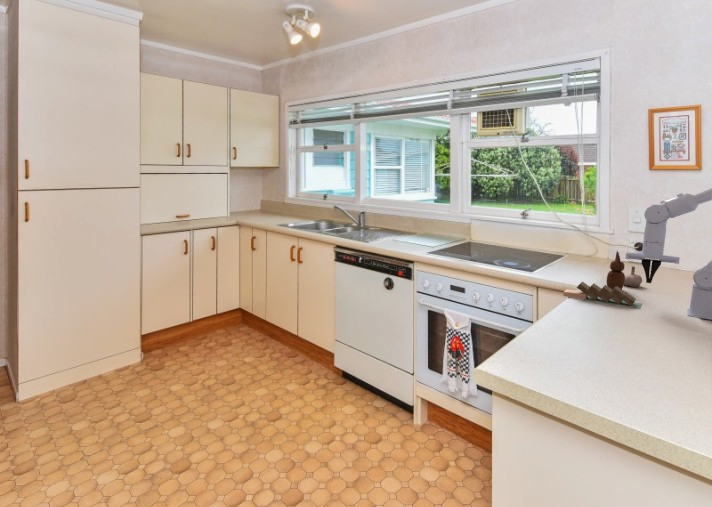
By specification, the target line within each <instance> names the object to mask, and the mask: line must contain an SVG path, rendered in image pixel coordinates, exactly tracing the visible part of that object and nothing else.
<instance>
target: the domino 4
mask: <svg viewBox="0 0 712 507" xmlns="http://www.w3.org/2000/svg"><path fill="white" fill-rule="evenodd" d="M611 293H613V294H614V295H616V296H617V297H618V298H620V299H621V300H623V301H624V302H626V303H627V304H629V305H630V306H631V305H632V304H633V303H634V302H635V303H636V300H637V299H636V297H634V296H633V295H631V294H629V293H628V292H626V291H625V290H624V289H623V288H622V289H620V288H619V287H617V286H616V287H615V288H614V289H613V290H612V292H611Z"/></svg>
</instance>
